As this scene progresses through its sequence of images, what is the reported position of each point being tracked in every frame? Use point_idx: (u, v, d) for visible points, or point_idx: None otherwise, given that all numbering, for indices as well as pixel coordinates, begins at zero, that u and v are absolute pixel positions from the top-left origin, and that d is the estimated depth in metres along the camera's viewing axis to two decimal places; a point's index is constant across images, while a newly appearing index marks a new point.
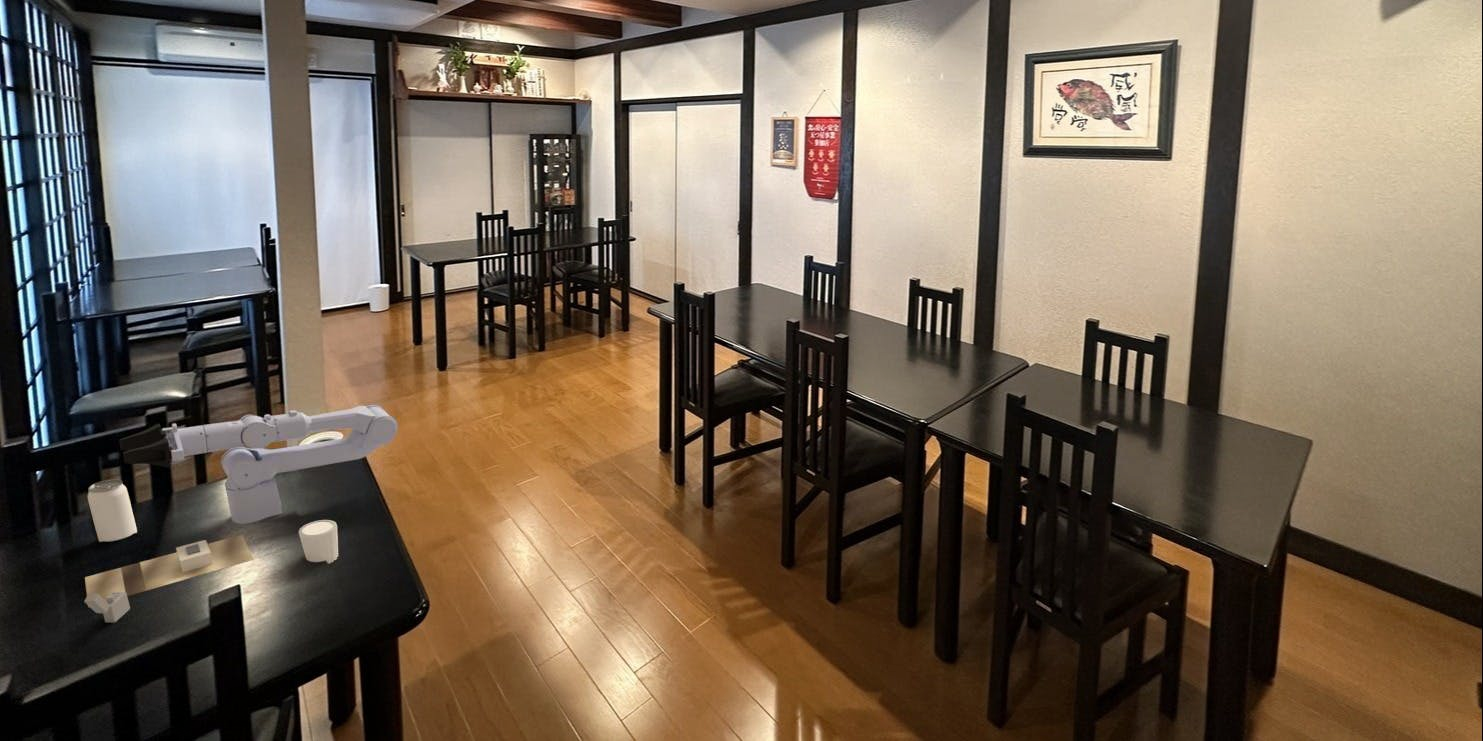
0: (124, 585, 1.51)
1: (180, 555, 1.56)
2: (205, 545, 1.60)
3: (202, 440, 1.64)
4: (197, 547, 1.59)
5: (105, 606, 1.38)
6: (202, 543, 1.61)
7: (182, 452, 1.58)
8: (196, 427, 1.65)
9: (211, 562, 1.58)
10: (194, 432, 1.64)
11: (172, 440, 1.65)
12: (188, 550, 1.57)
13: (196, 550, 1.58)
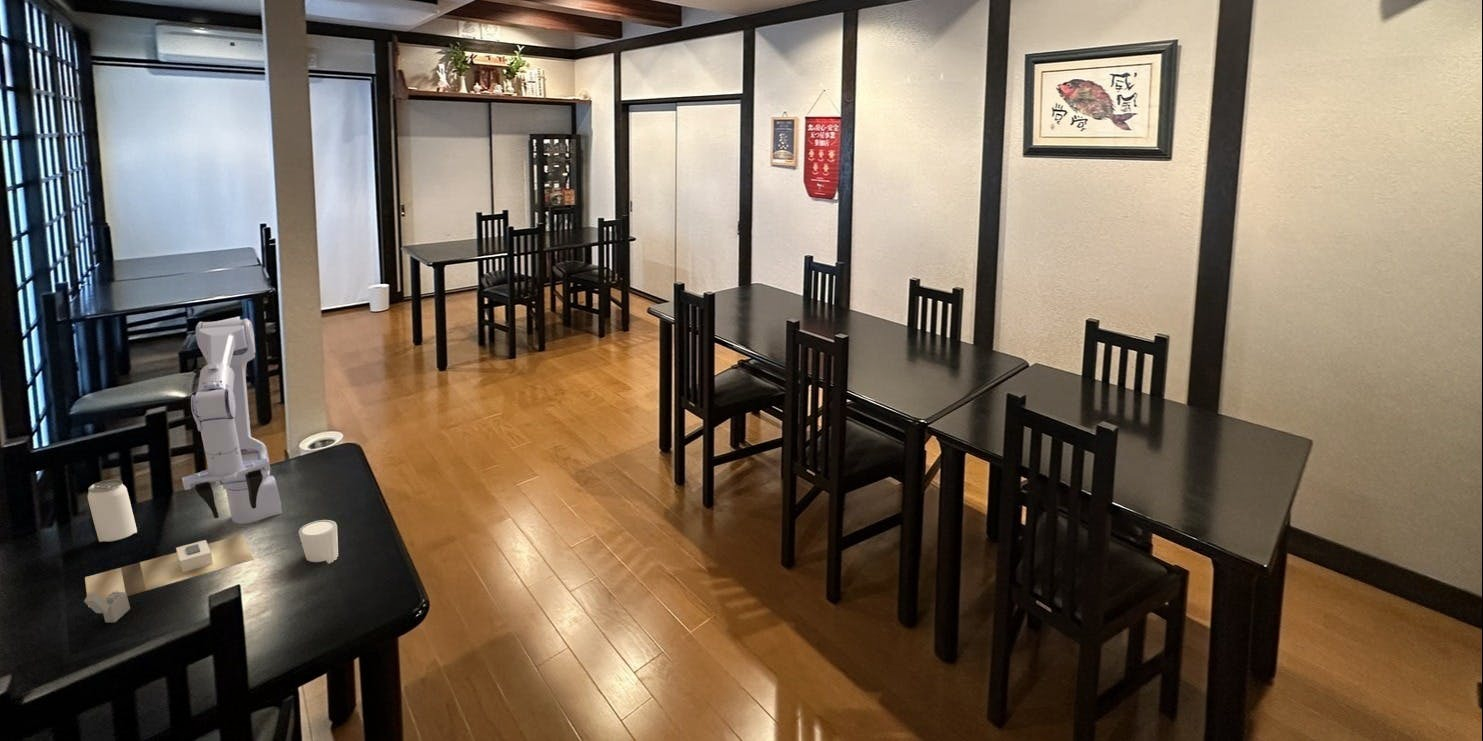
0: (124, 585, 1.51)
1: (180, 555, 1.56)
2: (205, 545, 1.60)
3: (239, 449, 1.58)
4: (197, 547, 1.59)
5: (105, 606, 1.38)
6: (202, 543, 1.61)
7: (268, 461, 1.62)
8: (227, 458, 1.55)
9: (211, 562, 1.58)
10: (236, 458, 1.57)
11: None
12: (188, 550, 1.57)
13: (196, 550, 1.58)
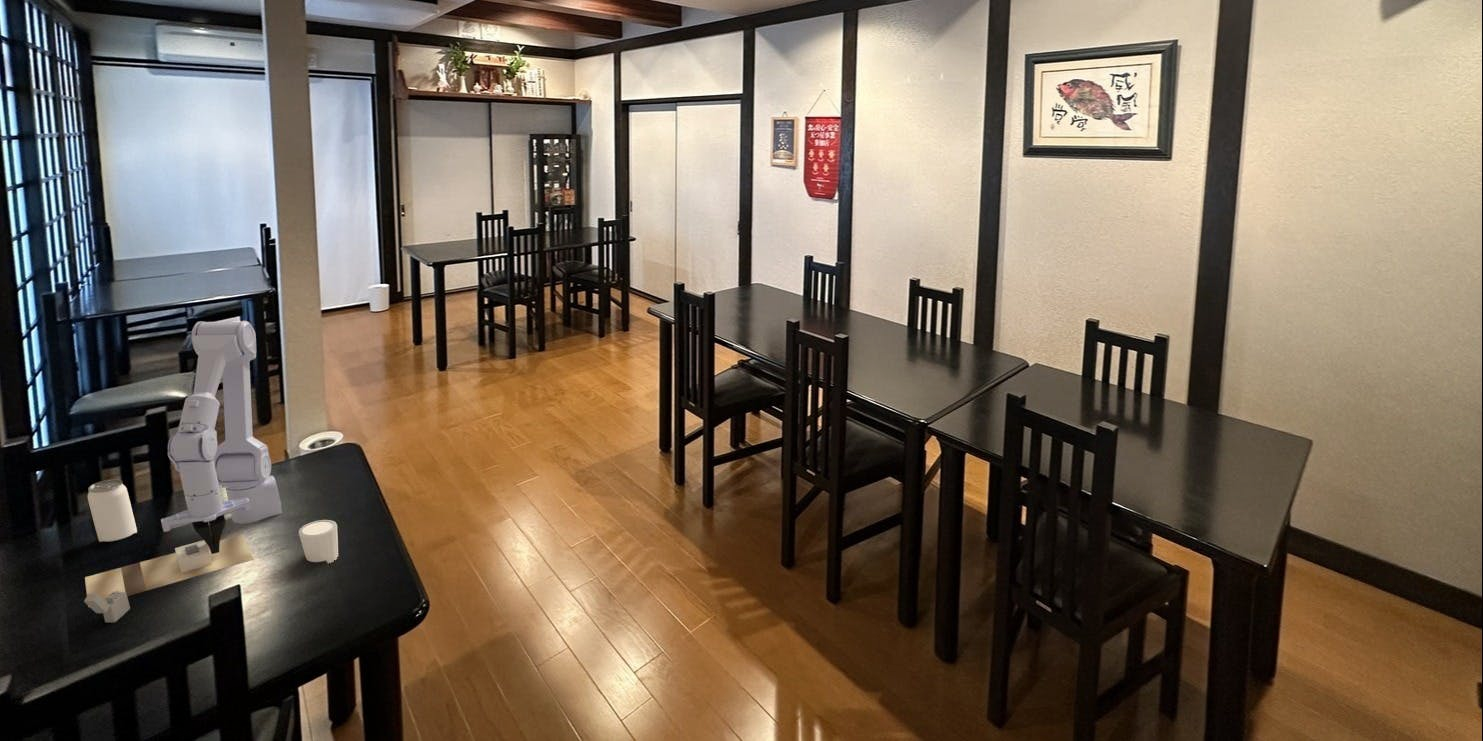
0: (124, 585, 1.51)
1: (179, 555, 1.56)
2: (204, 546, 1.60)
3: (219, 490, 1.58)
4: (196, 547, 1.58)
5: (105, 606, 1.38)
6: (201, 543, 1.60)
7: (249, 501, 1.62)
8: (206, 500, 1.55)
9: (210, 562, 1.58)
10: (215, 499, 1.56)
11: None
12: (187, 550, 1.57)
13: (195, 550, 1.57)
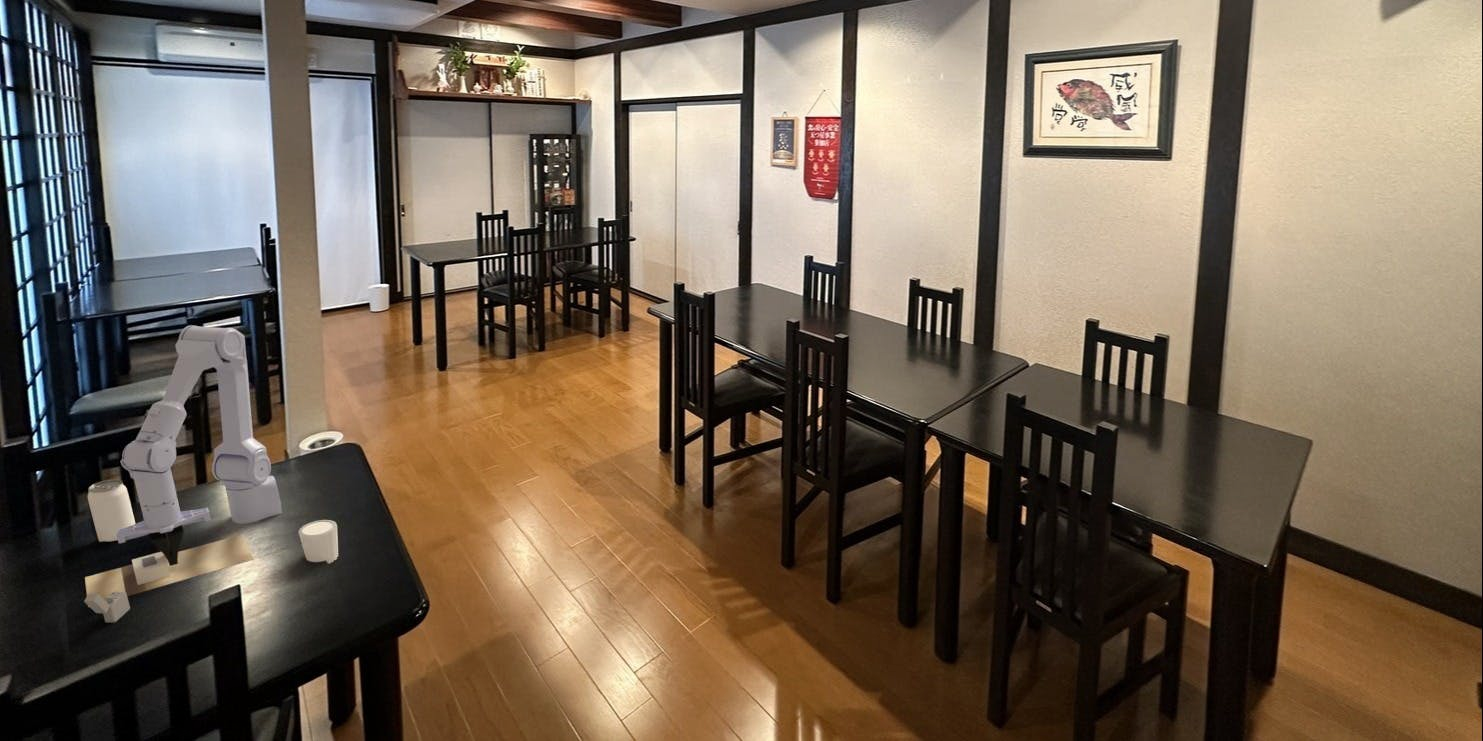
0: (124, 585, 1.51)
1: (135, 568, 1.52)
2: (162, 557, 1.55)
3: (177, 500, 1.53)
4: (153, 559, 1.54)
5: (105, 606, 1.38)
6: (159, 555, 1.56)
7: (208, 511, 1.58)
8: (163, 510, 1.51)
9: (167, 574, 1.54)
10: (172, 510, 1.52)
11: None
12: (144, 562, 1.53)
13: (152, 562, 1.53)
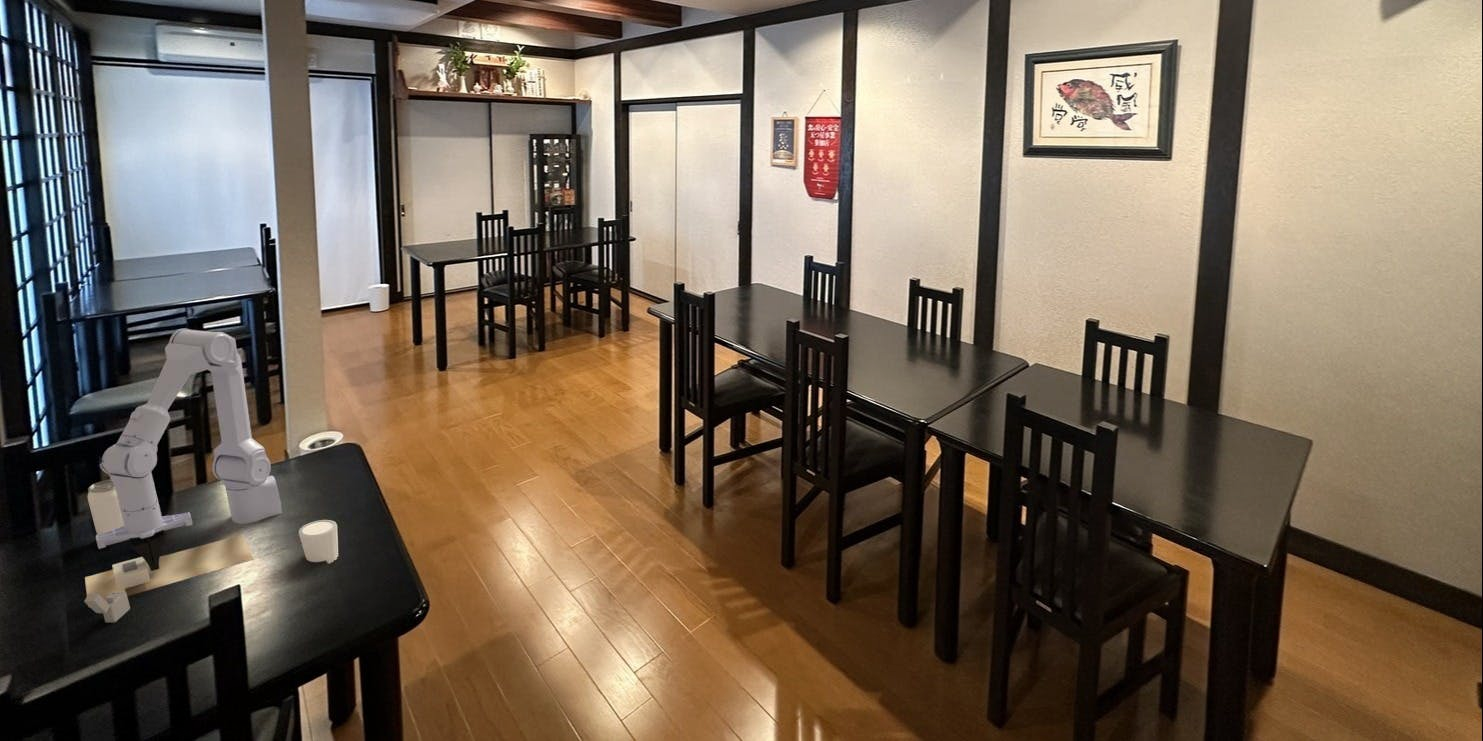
0: None
1: (115, 573, 1.50)
2: (143, 562, 1.54)
3: (158, 504, 1.52)
4: (134, 564, 1.52)
5: (105, 606, 1.38)
6: (140, 560, 1.54)
7: (190, 515, 1.56)
8: (143, 515, 1.49)
9: (148, 580, 1.52)
10: (153, 514, 1.50)
11: None
12: (124, 567, 1.51)
13: (133, 567, 1.51)
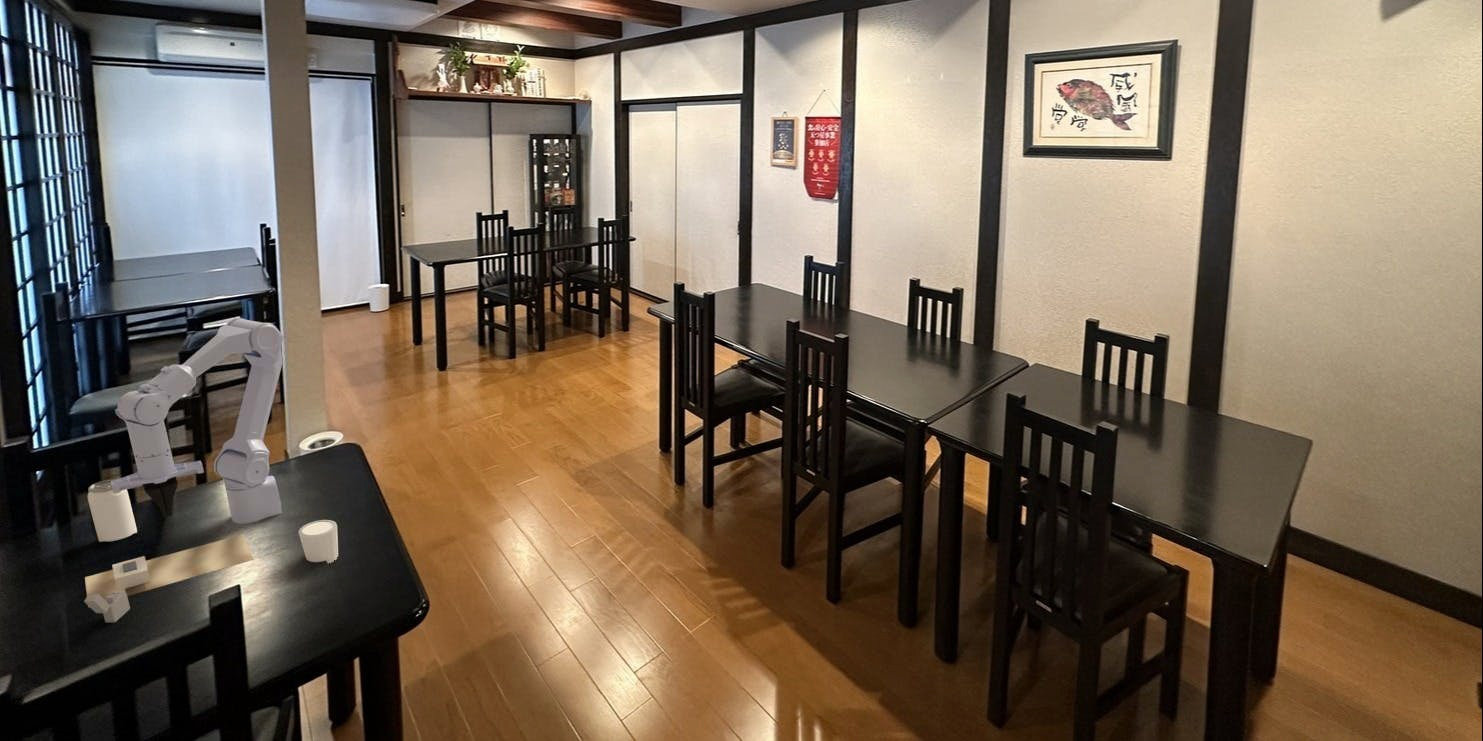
0: None
1: (115, 573, 1.50)
2: (143, 562, 1.54)
3: (170, 452, 1.57)
4: (134, 564, 1.52)
5: (105, 606, 1.38)
6: (140, 560, 1.54)
7: (201, 463, 1.61)
8: (156, 461, 1.54)
9: (148, 580, 1.52)
10: (166, 461, 1.55)
11: None
12: (124, 567, 1.51)
13: (133, 567, 1.51)
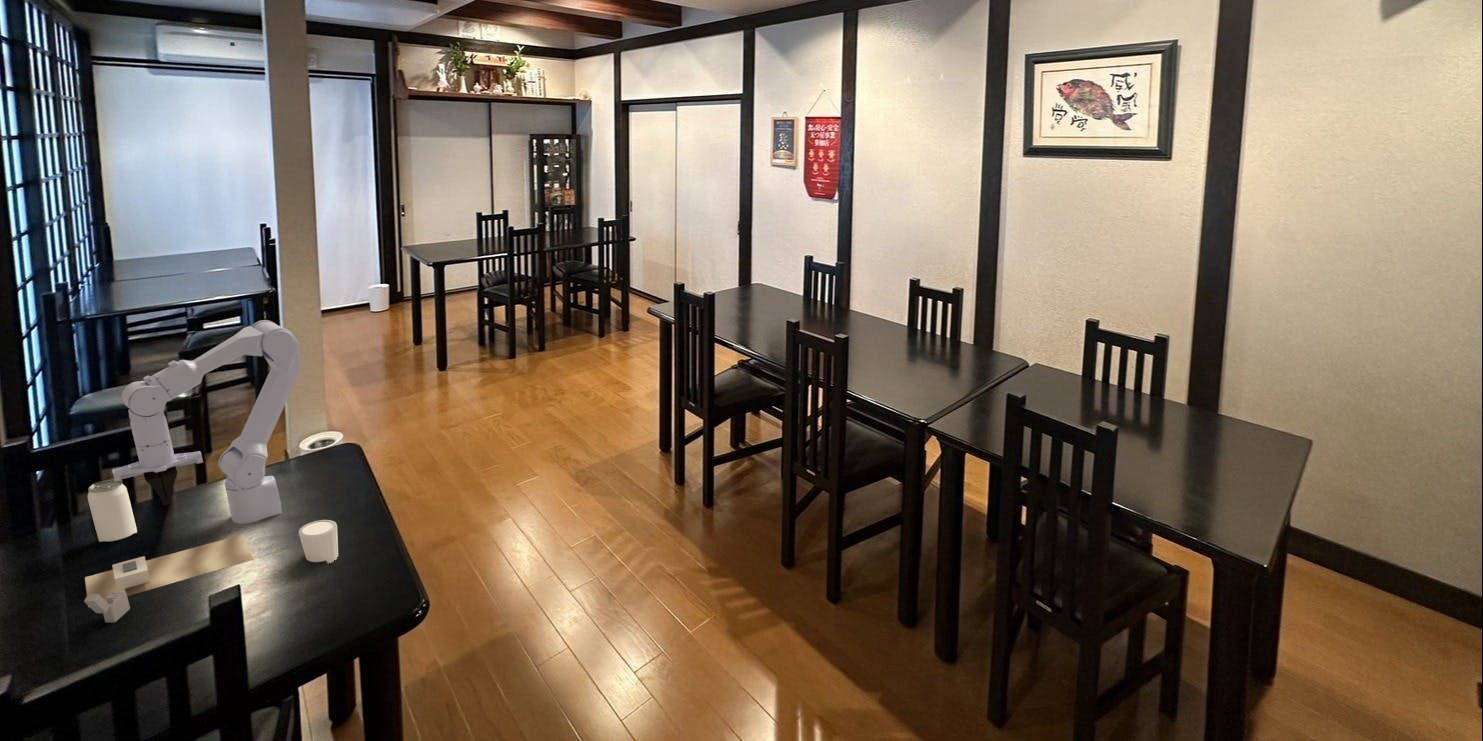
0: None
1: (115, 573, 1.50)
2: (143, 562, 1.54)
3: (170, 442, 1.61)
4: (134, 564, 1.52)
5: (105, 606, 1.38)
6: (140, 560, 1.54)
7: None
8: (157, 450, 1.58)
9: (148, 580, 1.52)
10: (166, 450, 1.59)
11: None
12: (124, 567, 1.51)
13: (133, 567, 1.51)
